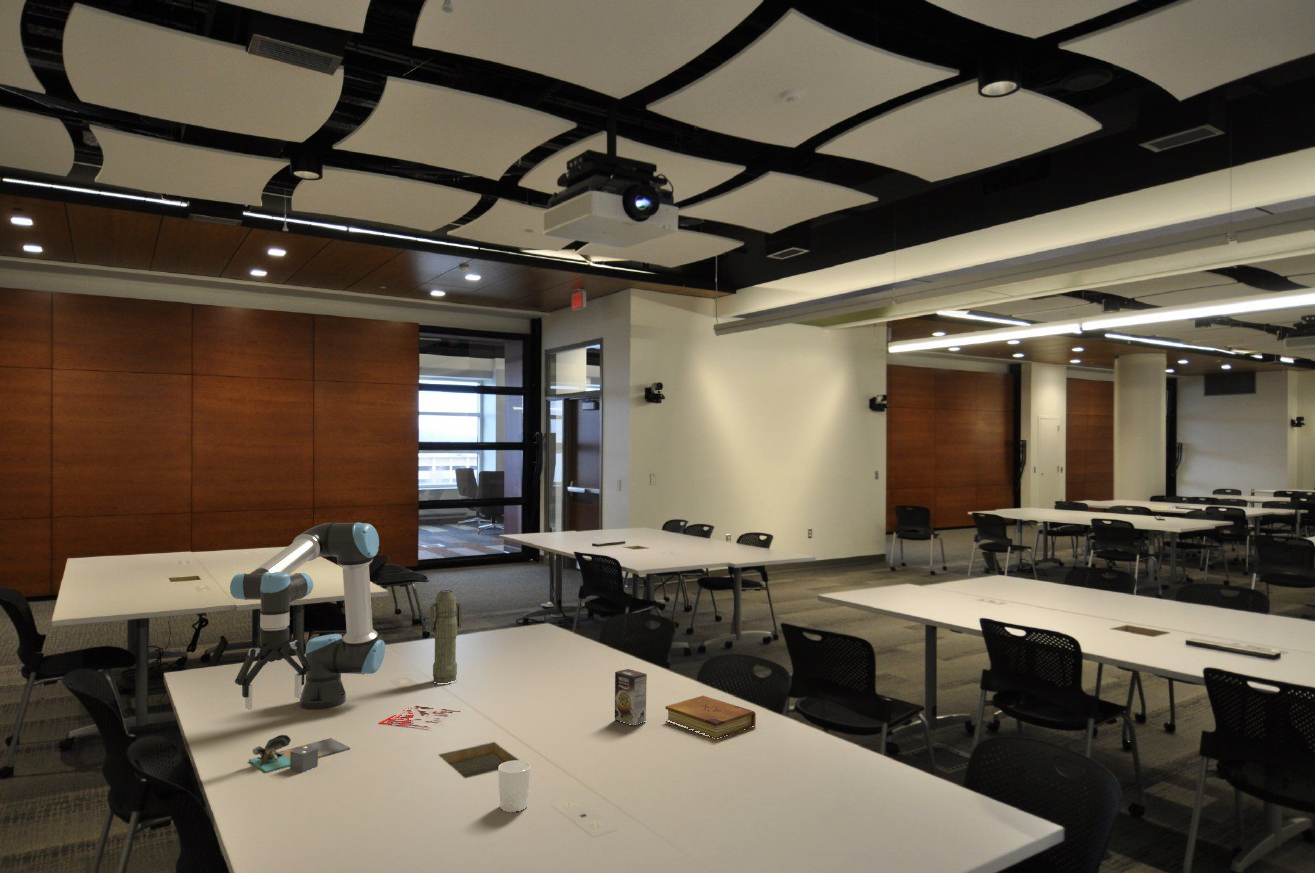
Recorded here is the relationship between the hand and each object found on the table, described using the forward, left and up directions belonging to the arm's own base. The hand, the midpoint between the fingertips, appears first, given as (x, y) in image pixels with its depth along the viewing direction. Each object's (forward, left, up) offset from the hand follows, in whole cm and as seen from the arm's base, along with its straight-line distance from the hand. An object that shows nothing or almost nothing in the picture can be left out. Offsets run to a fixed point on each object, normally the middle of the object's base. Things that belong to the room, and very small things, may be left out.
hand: (273, 702), depth 224 cm
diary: (-110, +71, -18) cm, 132 cm away
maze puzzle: (-50, -4, -18) cm, 53 cm away
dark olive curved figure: (0, -1, -17) cm, 17 cm away
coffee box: (-94, +50, -17) cm, 108 cm away
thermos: (-79, -35, -17) cm, 88 cm away
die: (-4, +10, -17) cm, 20 cm away
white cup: (-28, +73, -17) cm, 80 cm away
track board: (-8, 0, -17) cm, 19 cm away
